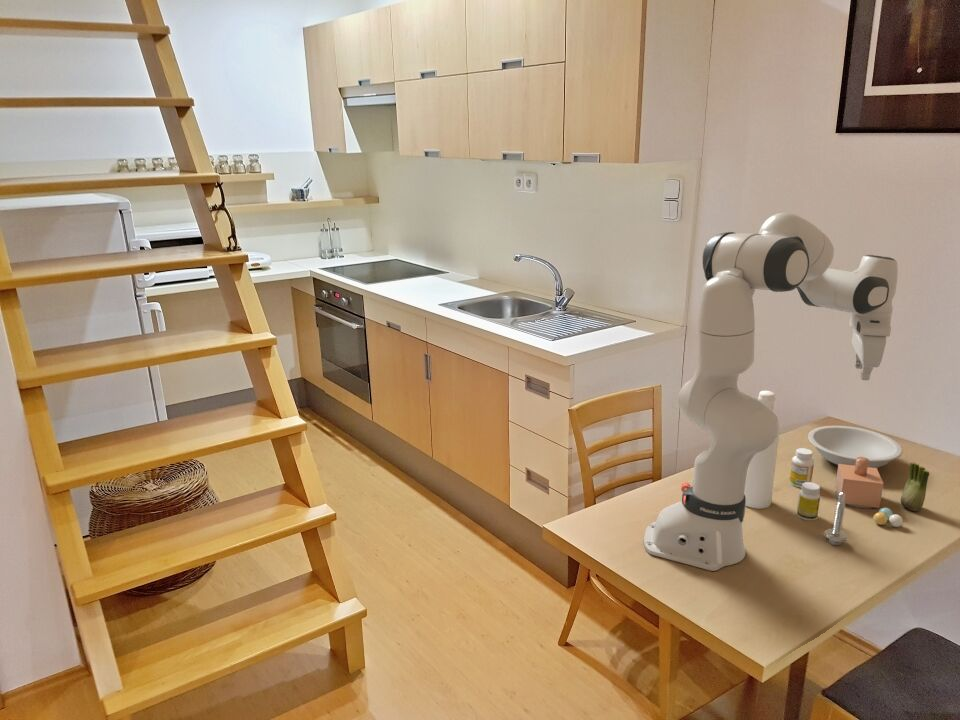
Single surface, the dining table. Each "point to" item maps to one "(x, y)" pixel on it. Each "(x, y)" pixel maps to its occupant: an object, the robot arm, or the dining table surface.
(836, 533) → the screw
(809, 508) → the supplement bottle
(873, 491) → the terracotta cover
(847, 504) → the gray glossy dome
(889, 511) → the marble teal
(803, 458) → the supplement bottle
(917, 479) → the fennel bulb
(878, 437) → the soup bowl
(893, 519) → the marble ivory
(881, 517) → the marble amber
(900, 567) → the dining table surface
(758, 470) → the bottle
